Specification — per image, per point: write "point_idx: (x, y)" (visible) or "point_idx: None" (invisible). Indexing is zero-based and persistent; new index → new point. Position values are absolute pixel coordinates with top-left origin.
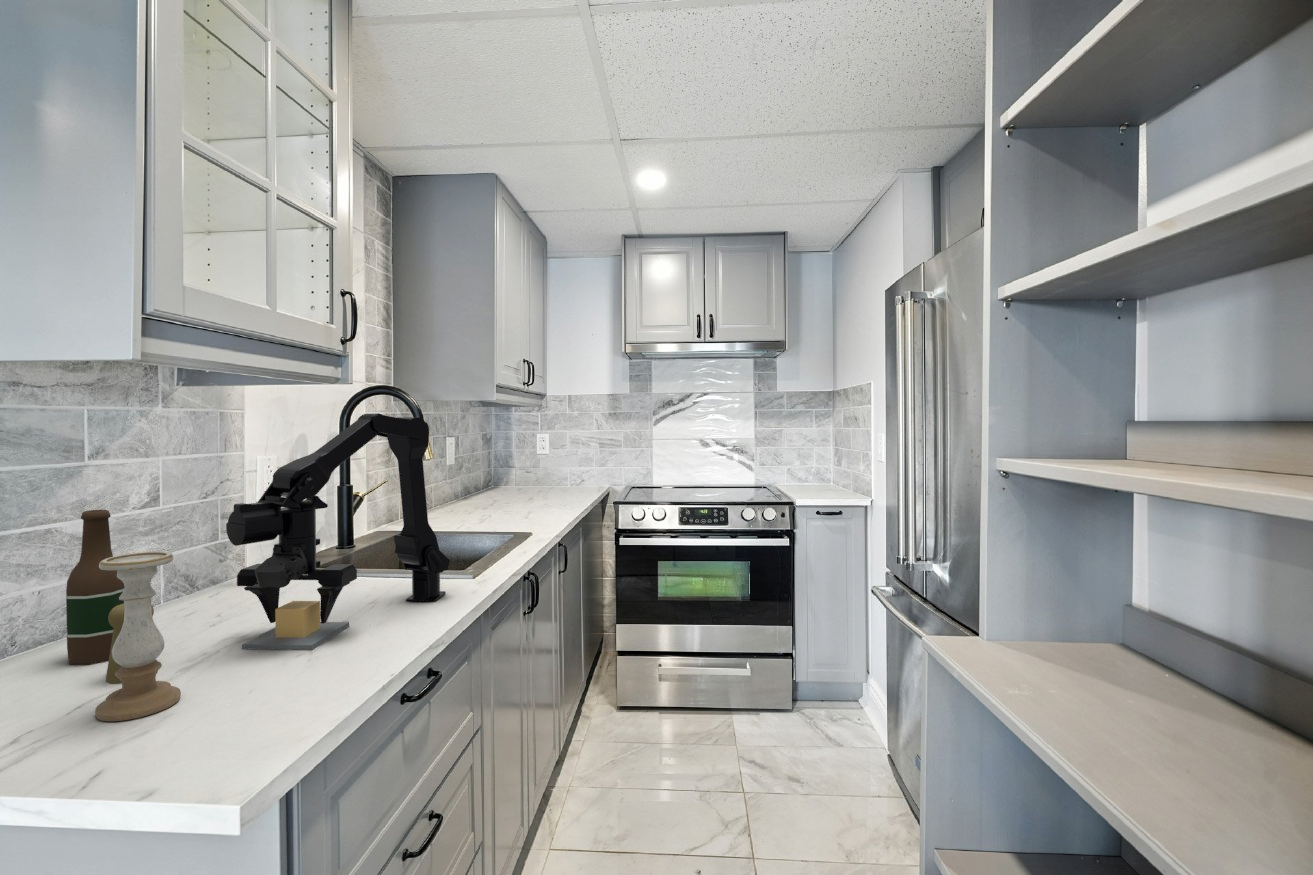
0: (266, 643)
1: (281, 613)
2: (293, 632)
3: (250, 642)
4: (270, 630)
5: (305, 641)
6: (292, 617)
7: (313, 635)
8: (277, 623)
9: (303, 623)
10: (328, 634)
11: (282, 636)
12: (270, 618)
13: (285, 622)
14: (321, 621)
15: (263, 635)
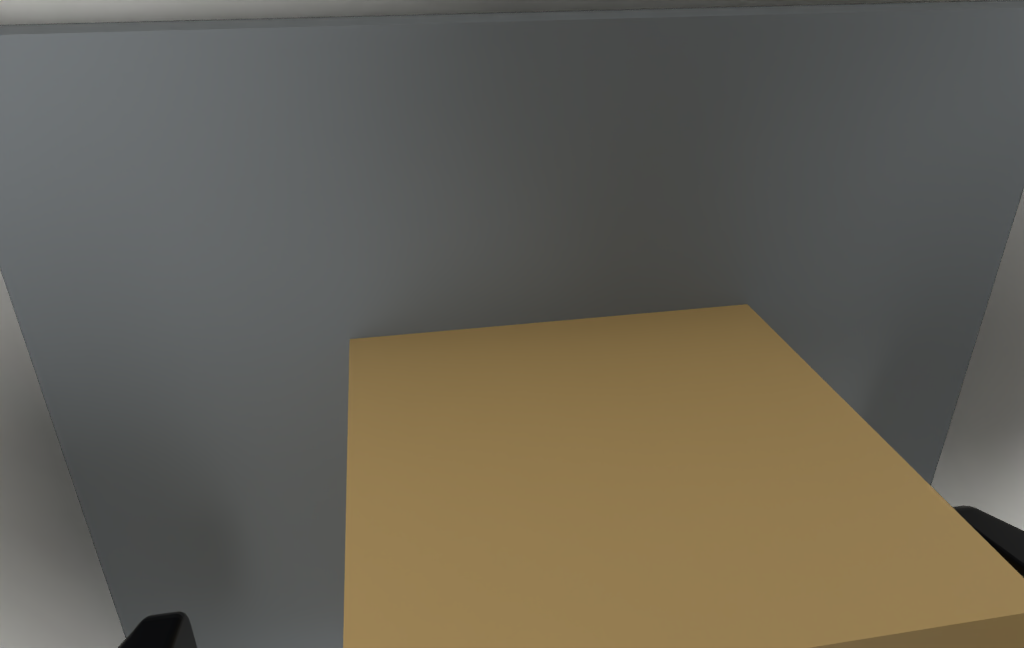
0: (752, 64)
1: (853, 547)
2: (516, 363)
3: (990, 93)
4: None
5: (195, 197)
6: (589, 519)
7: (275, 428)
8: (822, 414)
9: (351, 469)
10: (81, 486)
11: (659, 316)
12: (1007, 541)
13: (695, 442)
14: (163, 630)
15: (925, 345)
